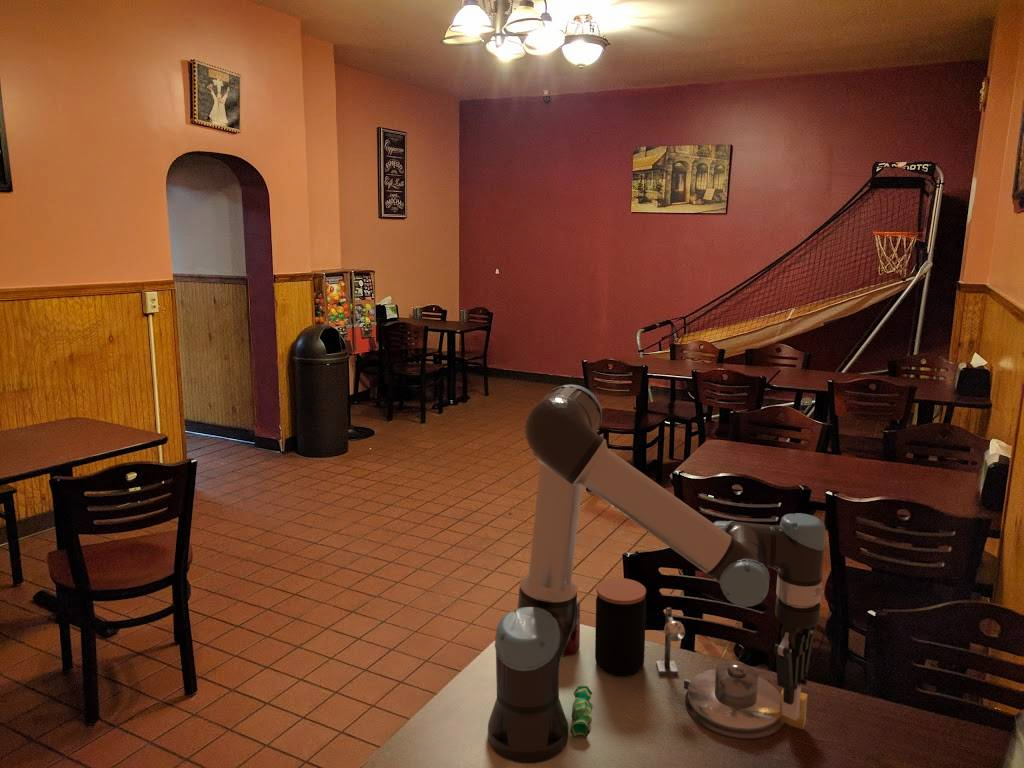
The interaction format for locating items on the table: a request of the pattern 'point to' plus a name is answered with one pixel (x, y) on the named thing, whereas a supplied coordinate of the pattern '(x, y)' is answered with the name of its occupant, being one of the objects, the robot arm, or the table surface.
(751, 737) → the turntable base
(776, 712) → the turntable
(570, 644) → the soda can
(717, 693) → the cover
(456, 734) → the table surface
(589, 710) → the candy
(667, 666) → the dial stand
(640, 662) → the coffee jar
